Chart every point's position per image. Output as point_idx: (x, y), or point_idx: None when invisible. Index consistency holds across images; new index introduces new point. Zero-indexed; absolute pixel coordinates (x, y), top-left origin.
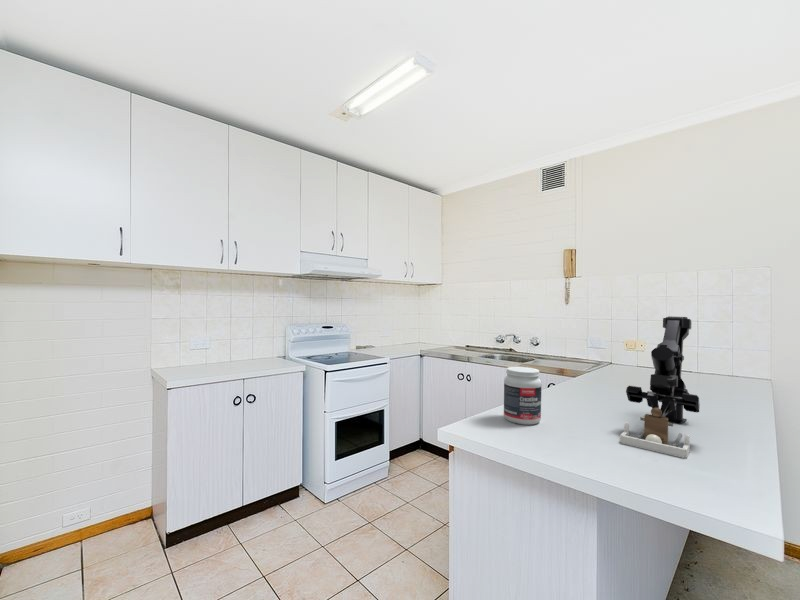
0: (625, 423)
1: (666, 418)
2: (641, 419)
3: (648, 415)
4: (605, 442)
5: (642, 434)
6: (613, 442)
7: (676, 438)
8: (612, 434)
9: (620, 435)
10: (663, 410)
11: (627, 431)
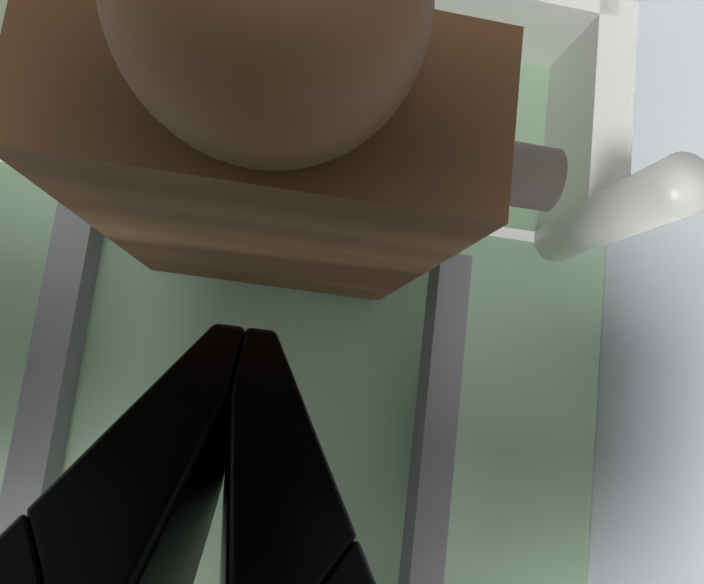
0: (692, 155)
1: (30, 51)
2: (531, 145)
3: (445, 89)
4: (690, 75)
5: (426, 416)
6: (634, 120)
7: None
8: (689, 387)
9: (633, 7)
10: (35, 533)
11: (594, 193)
